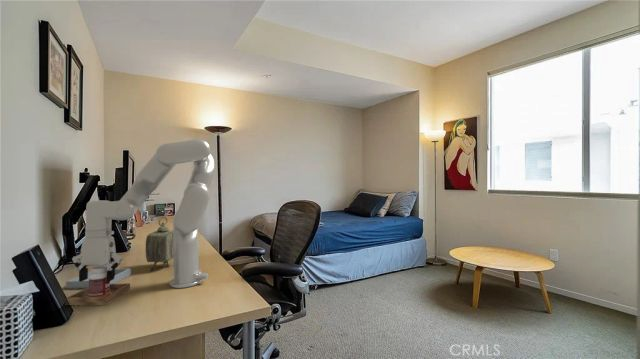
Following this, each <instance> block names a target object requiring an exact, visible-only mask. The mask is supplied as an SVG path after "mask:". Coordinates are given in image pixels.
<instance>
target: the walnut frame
mask: <svg viewBox="0 0 640 359" xmlns="http://www.w3.org/2000/svg"><path fill="white" fill-rule="evenodd" d="M130 290H131V283H130V282H128V283H115V284H110V294H108V295H107V296H105V297H89V287H88V288H86V289H82V290H79V291H78V292H76V293H74V294H71V295H70V296H67V297H66V298H67V299H68V301H69V303H70V304H71V305H72V306H71V307H74V306H73V305H75V307H76V306H77V305H80V306H82V307H83V306H105V305H107V304H109V303H110V302H112V301H114V300H115V299H117V298H119V297H120V296H122V295H124V294H125V293H127V292H129V291H130ZM77 307H78V306H77Z"/></svg>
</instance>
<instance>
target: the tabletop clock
mask: <svg viewBox="0 0 640 359" xmlns="http://www.w3.org/2000/svg"><path fill="white" fill-rule="evenodd" d="M162 219H165V221H166V222H161V220H162ZM160 222H161V223H160ZM167 223H168V218H167V217H166V216H162V217H160V218H159V219H158V223H157V224H158V225H159V227H158V228H157V230H155V231H152V232H150V233H149V234H147V235H146V239H145V249H144V250H145V259H146V262H147V263H153V265H152V266H151V267H150V268H149V270H150V271H153V270H154V269H155V266H156V264H158V263H163V264H164V265H165V267H166V268H170V266H171V265H170V263H168V261H171V260H174V236H173V230H170V229H169V227H168V226H166V225H167Z"/></svg>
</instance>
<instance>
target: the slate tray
mask: <svg viewBox="0 0 640 359" xmlns="http://www.w3.org/2000/svg"><path fill="white" fill-rule="evenodd" d="M91 271H92V270H90V271H88V279H86V280H84V281H81V282H80V281H79V275H78V276H76V277H73V278H72V279H68V280H67V281H65V289H66V290H69V289H70V290H73V289H75V290H77V289H78V290H79V289H80V290H81V289H82V290H84V289H86V288H88V287H89V276H90V275H91V274H92V272H91ZM107 271H108V270H107ZM130 276H132V269H131V268H116V269H115V277H114V279H113V280H111V281H110V284H118V283H119V282H120V281H123V280H124V279H126V278H127V277H130Z"/></svg>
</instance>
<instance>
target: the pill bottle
mask: <svg viewBox="0 0 640 359" xmlns="http://www.w3.org/2000/svg"><path fill="white" fill-rule="evenodd" d="M107 270H108V268H107V267H106V266H105V265H103V266H94V267H92V268H91V270H90V271H91V272H92V274H91V275H90V276H89V295H88V297H105V296H107V295H108V294H110V293H111V291H110V281H109V282H107V281H106V279H107Z"/></svg>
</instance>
